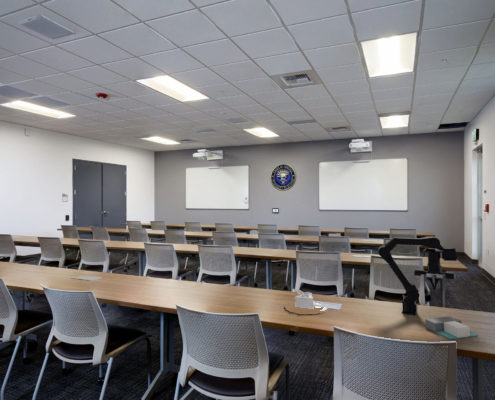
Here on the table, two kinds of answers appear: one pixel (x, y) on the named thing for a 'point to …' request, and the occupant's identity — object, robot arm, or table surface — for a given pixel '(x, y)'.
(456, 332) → the card box
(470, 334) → the mat
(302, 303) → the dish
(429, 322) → the plinth
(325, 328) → the table surface
